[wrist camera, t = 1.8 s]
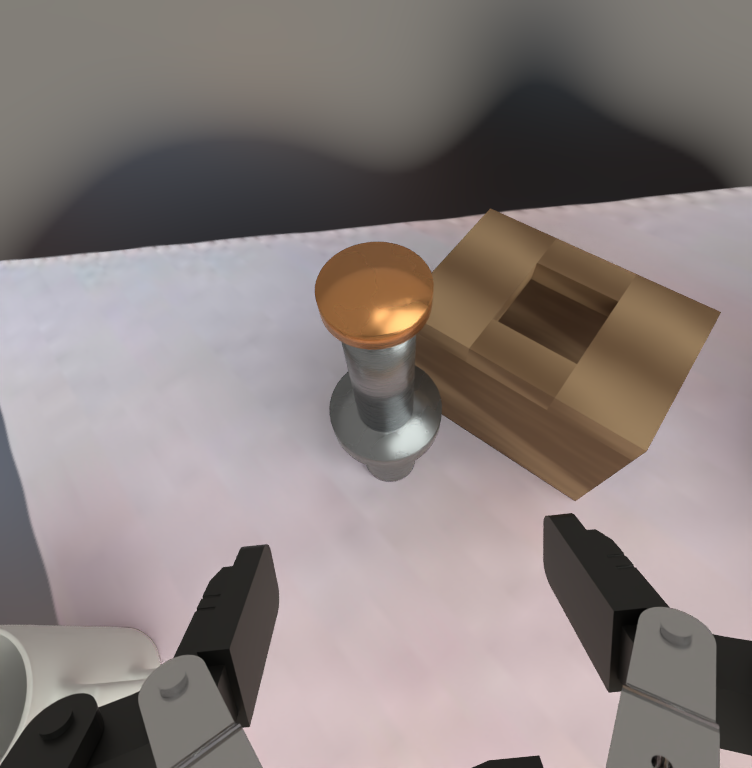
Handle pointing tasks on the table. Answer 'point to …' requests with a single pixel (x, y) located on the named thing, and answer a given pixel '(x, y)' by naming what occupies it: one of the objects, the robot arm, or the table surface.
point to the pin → (380, 355)
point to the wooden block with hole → (555, 351)
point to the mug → (66, 669)
